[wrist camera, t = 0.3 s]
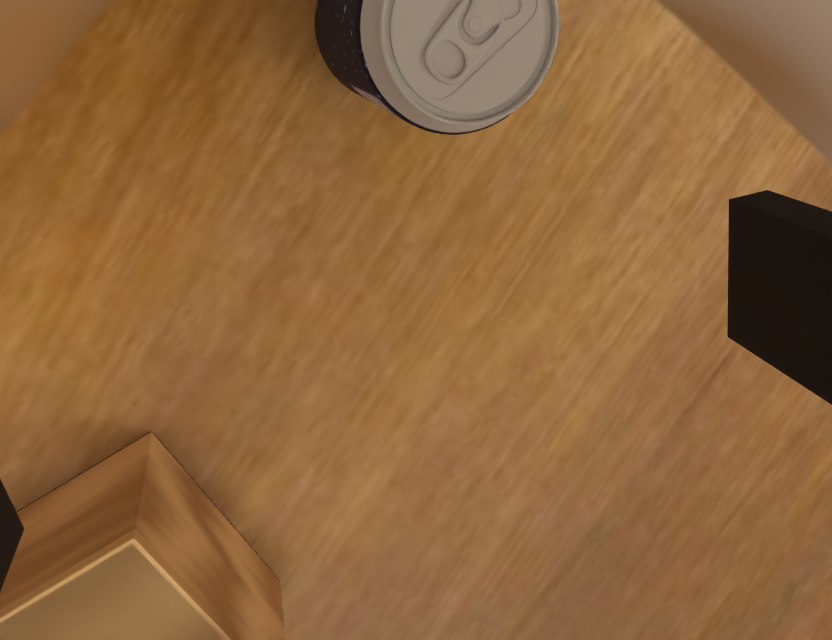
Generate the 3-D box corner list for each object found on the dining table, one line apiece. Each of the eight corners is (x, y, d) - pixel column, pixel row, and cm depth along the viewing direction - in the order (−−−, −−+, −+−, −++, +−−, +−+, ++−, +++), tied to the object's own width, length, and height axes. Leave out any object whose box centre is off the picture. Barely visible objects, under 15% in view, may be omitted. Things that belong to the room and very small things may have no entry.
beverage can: (477, 15, 31) (614, 15, 20) (392, 126, 32) (480, 182, 21) (372, -87, 29) (462, -150, 18) (283, 35, 30) (319, 45, 19)
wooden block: (-60, 555, 34) (-136, 699, 27) (152, 428, 34) (133, 537, 27) (98, 692, 39) (70, 846, 32) (282, 581, 39) (296, 708, 32)
